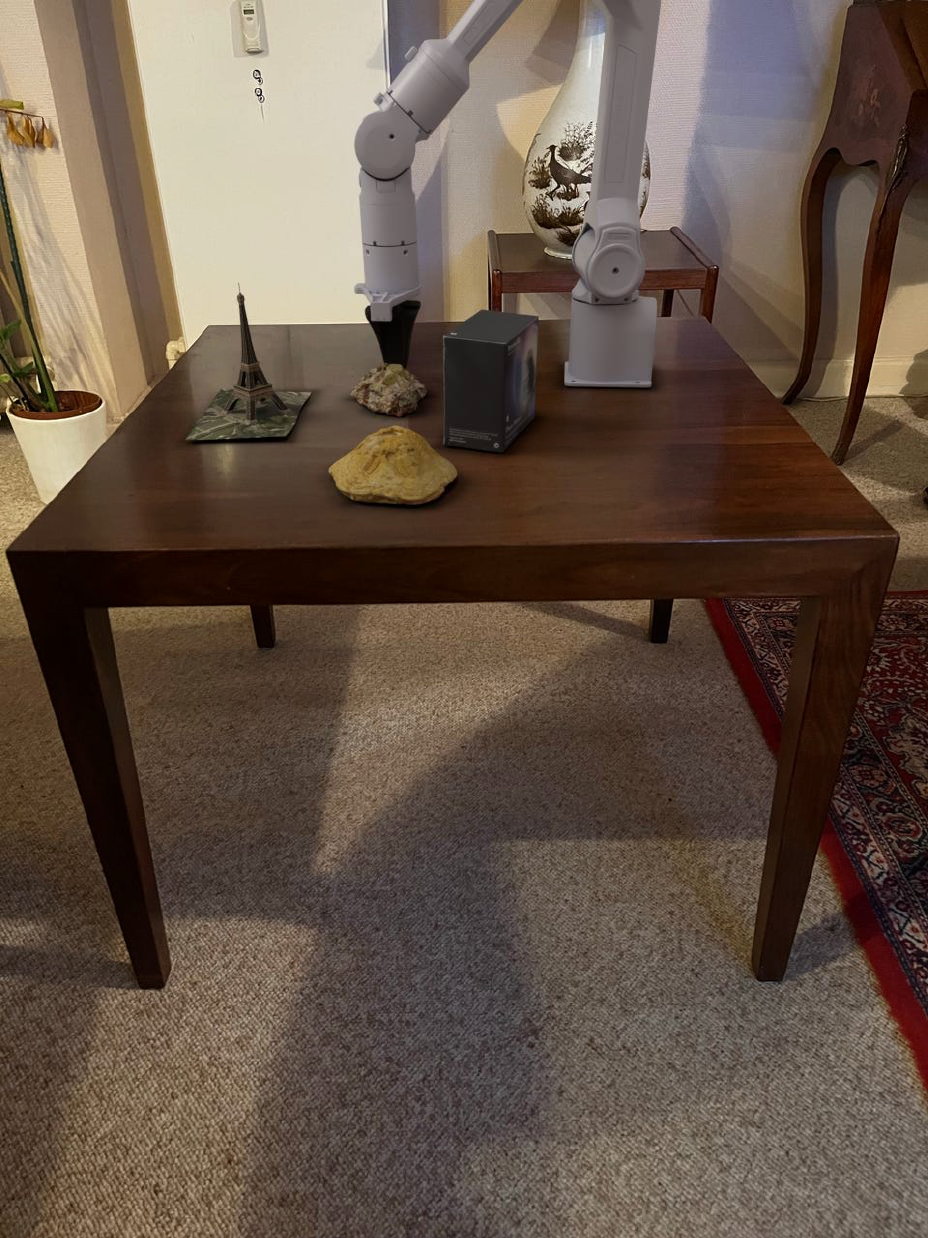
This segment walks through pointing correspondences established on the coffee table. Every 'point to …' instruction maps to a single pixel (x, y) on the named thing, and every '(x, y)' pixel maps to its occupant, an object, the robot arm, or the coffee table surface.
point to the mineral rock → (389, 390)
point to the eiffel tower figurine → (249, 401)
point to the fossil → (393, 469)
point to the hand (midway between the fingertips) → (396, 370)
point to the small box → (489, 379)
